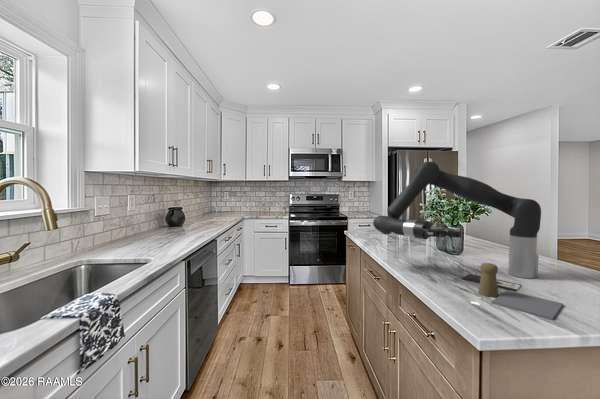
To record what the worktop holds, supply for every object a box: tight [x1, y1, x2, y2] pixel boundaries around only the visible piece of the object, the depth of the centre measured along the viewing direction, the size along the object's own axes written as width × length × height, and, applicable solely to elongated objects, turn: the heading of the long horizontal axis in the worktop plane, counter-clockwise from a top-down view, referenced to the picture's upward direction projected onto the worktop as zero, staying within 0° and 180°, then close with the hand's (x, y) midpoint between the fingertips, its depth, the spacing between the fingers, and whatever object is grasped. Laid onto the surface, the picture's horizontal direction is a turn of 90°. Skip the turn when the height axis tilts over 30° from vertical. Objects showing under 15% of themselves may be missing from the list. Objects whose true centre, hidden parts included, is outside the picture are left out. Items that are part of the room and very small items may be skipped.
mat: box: [491, 289, 564, 321], centre depth 91 cm, size 15×16×1 cm
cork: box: [477, 262, 499, 299], centre depth 100 cm, size 6×6×11 cm
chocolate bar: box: [461, 273, 522, 292], centre depth 112 cm, size 9×1×18 cm
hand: (459, 234), depth 107 cm, fingers closed
